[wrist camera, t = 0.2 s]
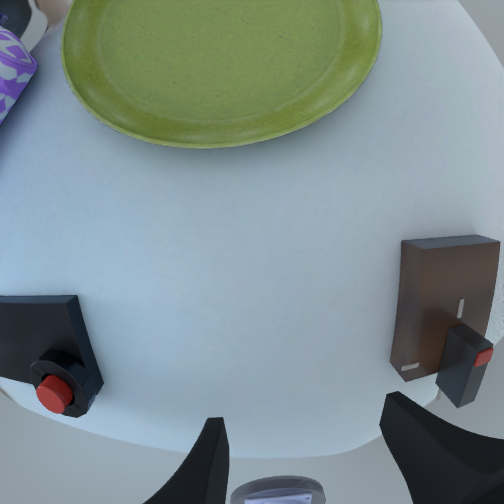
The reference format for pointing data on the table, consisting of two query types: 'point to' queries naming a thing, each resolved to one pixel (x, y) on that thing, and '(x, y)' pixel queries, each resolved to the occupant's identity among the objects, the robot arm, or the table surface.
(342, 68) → the green plate
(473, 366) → the stamp handle
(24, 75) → the pencil case
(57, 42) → the table surface
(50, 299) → the button dock
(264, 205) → the table surface
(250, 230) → the table surface
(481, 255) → the stand
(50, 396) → the dock button
